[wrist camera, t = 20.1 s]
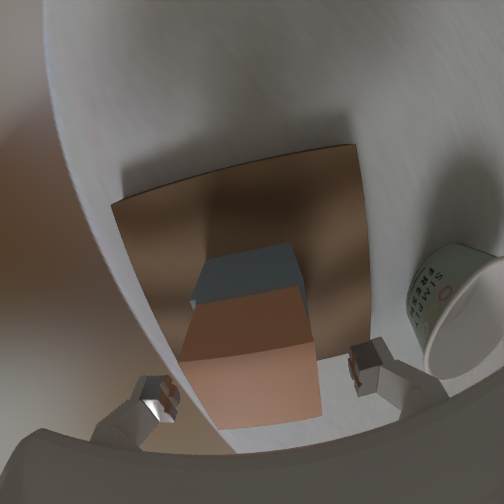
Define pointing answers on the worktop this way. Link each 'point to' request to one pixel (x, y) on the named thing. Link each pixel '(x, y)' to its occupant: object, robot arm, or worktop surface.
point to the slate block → (249, 275)
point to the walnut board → (258, 237)
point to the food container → (457, 309)
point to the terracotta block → (253, 360)
